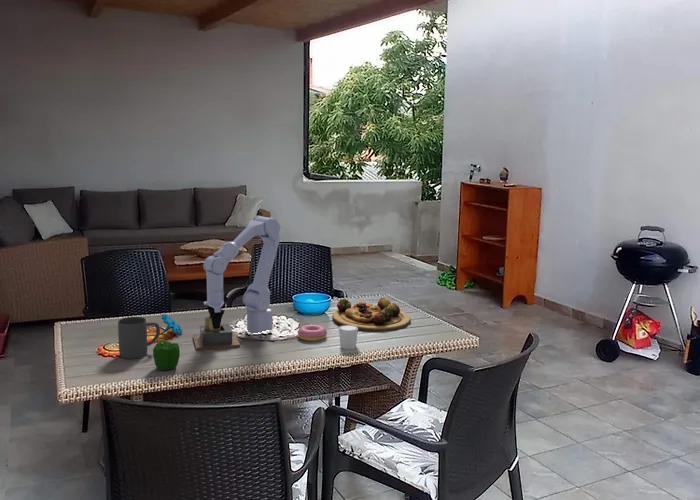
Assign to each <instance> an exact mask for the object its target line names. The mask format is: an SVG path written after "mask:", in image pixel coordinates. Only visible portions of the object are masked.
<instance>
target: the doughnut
mask: <svg viewBox="0 0 700 500" xmlns="http://www.w3.org/2000/svg"><path fill="white" fill-rule="evenodd" d="M327 334H328V331H327V328H325V326H323V325H318V324H311V323H310V324H306V325H303V326H300V327H299V328H298V330H297V336H298V338H299V339H301V340H303V341H305V342H306V341H308V342H316V341H317V342H318V341H321V340H324V339H325V338H326V336H327Z"/></svg>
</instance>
